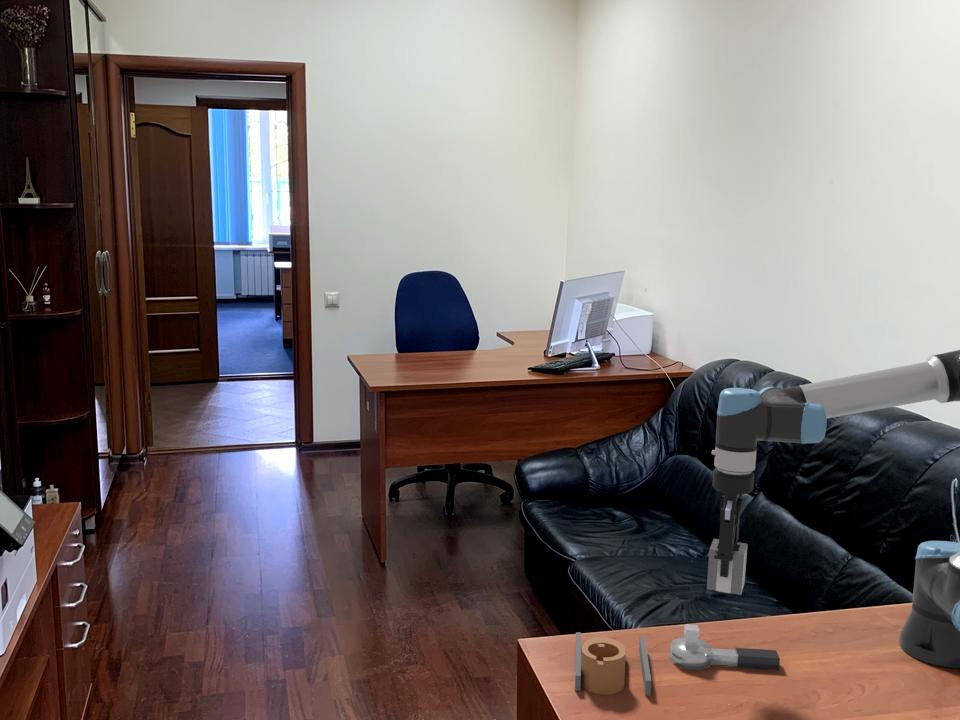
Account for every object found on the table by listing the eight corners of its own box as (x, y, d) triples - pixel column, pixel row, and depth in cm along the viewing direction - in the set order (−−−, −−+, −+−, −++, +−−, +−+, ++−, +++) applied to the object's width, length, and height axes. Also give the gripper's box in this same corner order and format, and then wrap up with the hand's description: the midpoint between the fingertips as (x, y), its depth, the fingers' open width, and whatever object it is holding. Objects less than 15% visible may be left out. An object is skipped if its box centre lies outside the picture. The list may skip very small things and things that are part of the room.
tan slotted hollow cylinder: (624, 697, 163) (625, 662, 162) (579, 693, 164) (580, 658, 163) (624, 651, 180) (625, 620, 179) (583, 648, 182) (584, 616, 181)
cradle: (643, 650, 181) (644, 636, 180) (650, 695, 163) (651, 680, 163) (575, 645, 182) (576, 632, 182) (575, 690, 165) (575, 675, 164)
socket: (711, 577, 175) (713, 538, 173) (744, 582, 172) (747, 543, 171) (706, 589, 169) (709, 549, 167) (741, 595, 166) (744, 554, 165)
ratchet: (772, 656, 179) (775, 624, 178) (781, 676, 171) (783, 642, 170) (668, 649, 181) (669, 617, 180) (672, 668, 173) (673, 635, 172)
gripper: (720, 455, 177) (712, 564, 181) (706, 479, 159) (698, 600, 163) (758, 460, 174) (750, 570, 178) (749, 485, 157) (740, 607, 160)
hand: (725, 584), depth 170 cm, fingers closed on socket, 6 cm apart
